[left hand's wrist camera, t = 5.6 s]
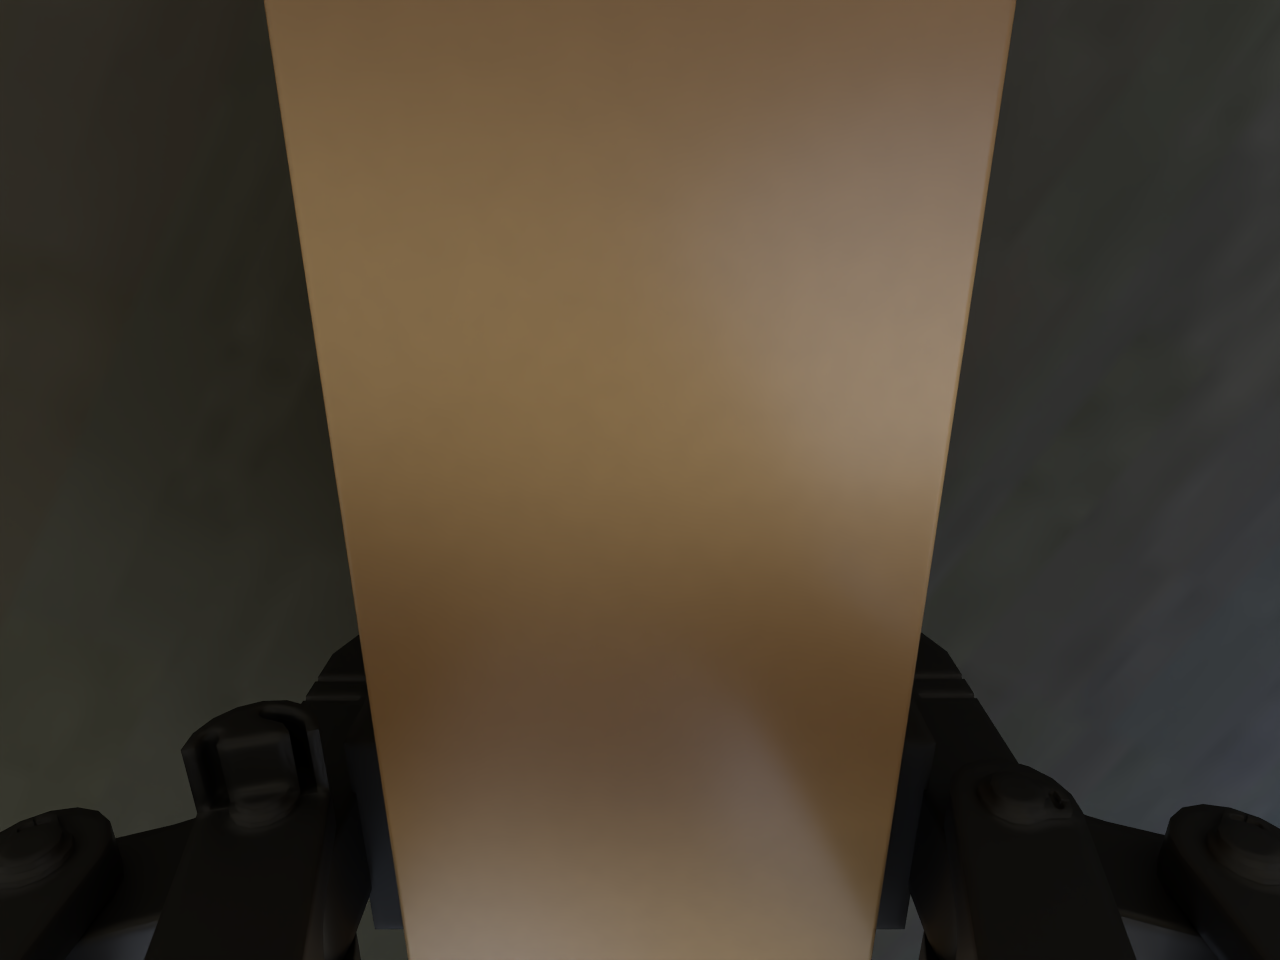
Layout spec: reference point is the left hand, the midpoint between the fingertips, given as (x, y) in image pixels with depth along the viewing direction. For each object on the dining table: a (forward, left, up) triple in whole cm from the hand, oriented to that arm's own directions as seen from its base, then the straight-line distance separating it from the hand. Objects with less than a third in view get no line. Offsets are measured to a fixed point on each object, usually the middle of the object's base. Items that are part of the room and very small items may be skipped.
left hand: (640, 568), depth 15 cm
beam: (+3, +28, -1) cm, 28 cm away
